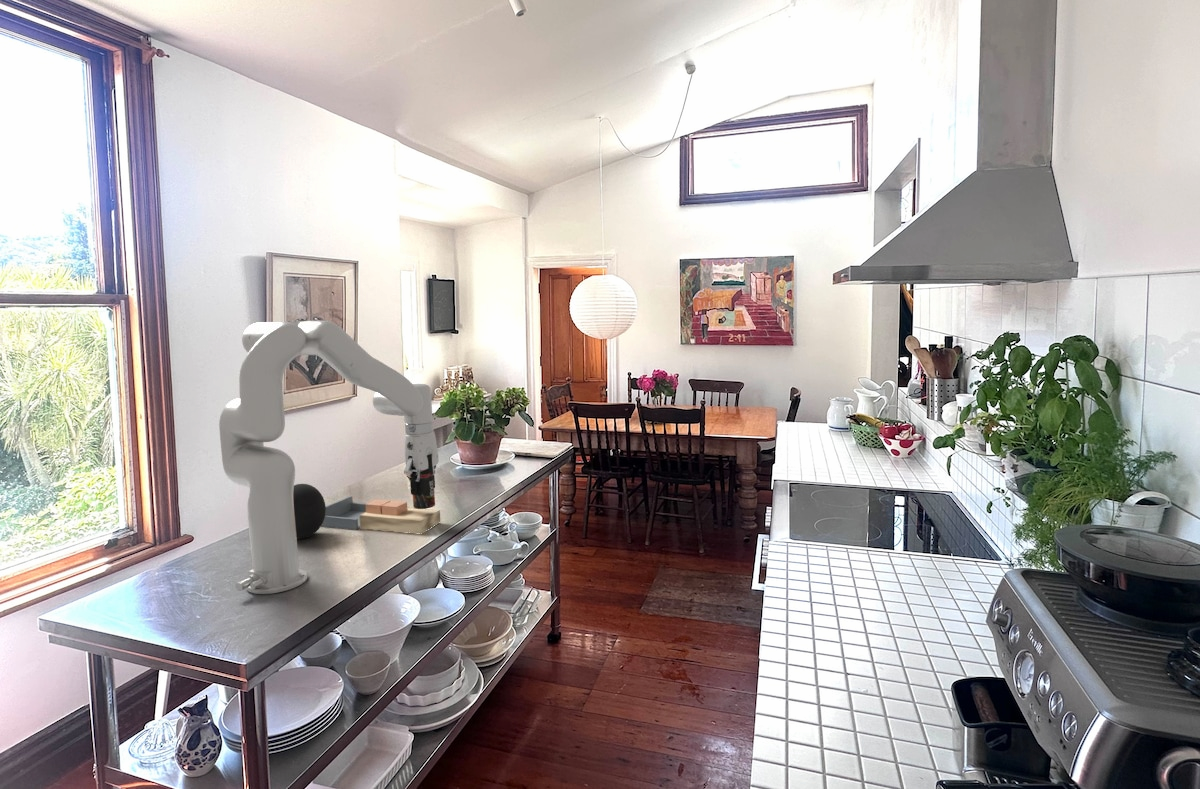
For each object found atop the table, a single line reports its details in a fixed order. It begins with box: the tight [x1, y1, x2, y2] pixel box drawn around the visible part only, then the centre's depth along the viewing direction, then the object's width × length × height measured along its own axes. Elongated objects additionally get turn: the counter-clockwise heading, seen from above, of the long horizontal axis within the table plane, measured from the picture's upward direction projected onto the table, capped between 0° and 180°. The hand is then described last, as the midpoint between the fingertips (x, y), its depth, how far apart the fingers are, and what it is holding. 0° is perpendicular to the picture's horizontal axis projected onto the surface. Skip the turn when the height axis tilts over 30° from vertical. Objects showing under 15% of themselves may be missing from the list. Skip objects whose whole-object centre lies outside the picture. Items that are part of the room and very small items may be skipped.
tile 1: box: [365, 498, 392, 514], centre depth 191 cm, size 5×5×2 cm
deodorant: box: [412, 454, 436, 509], centre depth 185 cm, size 6×6×15 cm
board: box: [359, 506, 442, 534], centre depth 189 cm, size 10×20×4 cm, turn 72°
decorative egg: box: [293, 483, 327, 539], centre depth 181 cm, size 12×12×15 cm
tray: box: [321, 495, 367, 530], centre depth 195 cm, size 14×13×5 cm
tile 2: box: [382, 500, 408, 515], centre depth 189 cm, size 5×5×2 cm
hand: (423, 490), depth 186 cm, fingers closed on deodorant, 5 cm apart
